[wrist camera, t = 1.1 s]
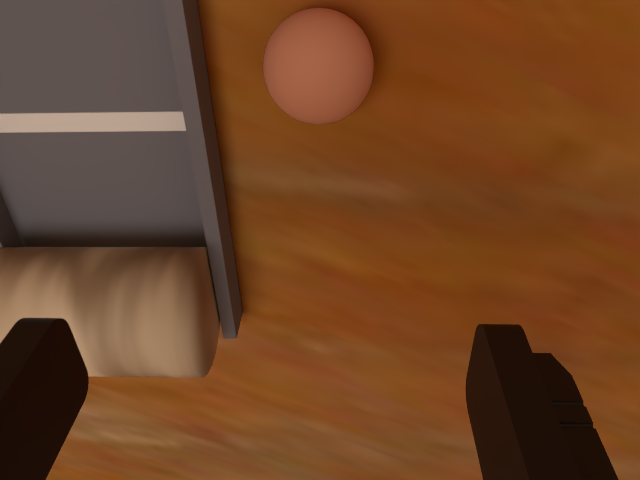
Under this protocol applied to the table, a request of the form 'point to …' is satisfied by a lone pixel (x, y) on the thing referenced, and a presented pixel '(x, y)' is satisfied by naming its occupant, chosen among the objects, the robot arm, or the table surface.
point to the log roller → (119, 305)
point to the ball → (318, 65)
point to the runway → (112, 133)
